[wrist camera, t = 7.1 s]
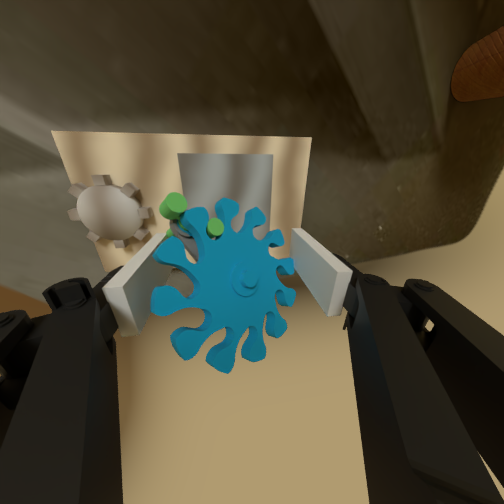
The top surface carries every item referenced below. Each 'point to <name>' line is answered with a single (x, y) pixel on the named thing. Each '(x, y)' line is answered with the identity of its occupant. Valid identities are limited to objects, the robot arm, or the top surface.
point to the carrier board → (180, 183)
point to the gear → (222, 279)
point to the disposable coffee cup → (480, 70)
